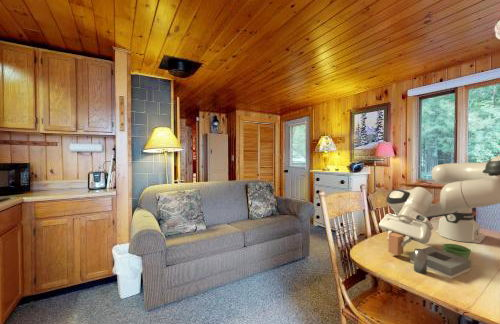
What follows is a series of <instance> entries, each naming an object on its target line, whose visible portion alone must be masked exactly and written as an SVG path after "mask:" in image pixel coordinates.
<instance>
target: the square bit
mask: <svg viewBox="0 0 500 324" xmlns="http://www.w3.org/2000/svg"><path fill="white" fill-rule="evenodd" d="M404 238H405V237H404V236H403V235H400V234H397V233H391V234H389V241H388V243H387V244H388V251H387V252H388V253H390V254H391V255H395V256H401V255H403V254H404V247H403V246H400V245H399V242H400V241H403V240H405V239H404Z"/></svg>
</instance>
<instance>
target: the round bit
mask: <svg viewBox="0 0 500 324" xmlns="http://www.w3.org/2000/svg"><path fill="white" fill-rule="evenodd" d="M423 249H424V248H414V250H413V252H414V264H413V271H414V272H416V273H417V274H422V275H427V274H428V269H427V251H425V250H423Z"/></svg>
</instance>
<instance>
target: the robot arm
mask: <svg viewBox="0 0 500 324" xmlns="http://www.w3.org/2000/svg"><path fill="white" fill-rule="evenodd" d="M431 178H432V179H433V181H434V182H435V183H437V184H442V185H444V186H443V187H442V188H441V190H440V192H439V194H440V195H439V201H438V202H436V203H433V200H434V195H433V194H432V193H431V191H429V190H428V189H427V188H425V187H421V186H416V187H413V188H411V189H406V190H405V189H403V190H401V189H394V190H391V191H390V192H389V193H388V194H387V196H386V199H385V200H386V203H387V204H388V205H389V207H390V208H391V210H392V211H393V212H394V213H392V212H391V213H386V214H385V215H384V217H383V218H382V219H381V220H380V222H379V223H378V227H379V229H381V230H382V231H384V232H387V238H386V240H387V241H388V242H389V234H391V233H397V234H400V235H403V236H404V238H405V239H404V240H403V241H400V242H399V245H400V246H403V248H404V247H405V246H406V245H407V244H409V243H410V242H412V241H413V242H417V243H420V244H423V245H425V244H428V243H429V241H430V239H431V237H432V231H433V230H434V226H433V224H432V222H431V221H430V220H429V219H432V218H433V219H434V218H438V217H439V220H438V221H439V222H438V229H435V232H436V233H437V234H439V235H440V236H441V237H443V238H446V239H449V240H452V241H458V242H463V243H464V242H465V243H474V244H481V243H482V242H483V241H484V240H485V239H486V237H487V236H486V234H484V233H481V229H480V227H481V226H480V225H479V223H477V221H476V220H475V217H474V216H476V211H473V209H474V208H475V209H476V208H483V207H490V206H495V205H499V204H500V155H497V156H495V157H493V158H490V159H489V160H488V161H484V162H458V163H457V162H453V163H452V162H451V163H450V162H449V163H442V164H437V165H435V166H434V167H432V169H431Z"/></svg>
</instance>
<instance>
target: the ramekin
mask: <svg viewBox="0 0 500 324" xmlns="http://www.w3.org/2000/svg"><path fill="white" fill-rule="evenodd" d="M442 248H443V251H445V252H448V253H451V254H454V255H457V256H460V257H463V258H466V259H469V260H470V255H471V252H472V251H471V249H470V248H468V247H466V246H463V245H459V244H456V243H443V245H442Z"/></svg>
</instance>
